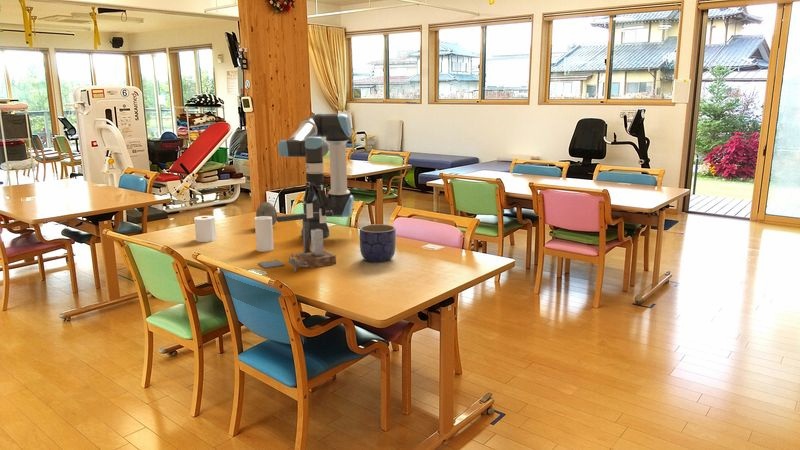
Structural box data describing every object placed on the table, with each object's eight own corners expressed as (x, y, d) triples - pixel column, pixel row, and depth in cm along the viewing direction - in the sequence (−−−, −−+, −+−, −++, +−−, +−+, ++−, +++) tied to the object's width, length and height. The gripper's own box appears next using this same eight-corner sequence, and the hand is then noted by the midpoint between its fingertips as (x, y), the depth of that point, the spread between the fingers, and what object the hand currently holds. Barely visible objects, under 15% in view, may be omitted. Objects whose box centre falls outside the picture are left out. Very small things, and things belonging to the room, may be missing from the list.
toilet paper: (191, 241, 294) (189, 218, 291) (205, 236, 303) (203, 214, 301) (207, 243, 290) (205, 220, 288) (220, 238, 300) (218, 216, 297)
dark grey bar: (275, 223, 256) (275, 215, 255) (331, 217, 270) (331, 209, 269) (277, 224, 253) (277, 216, 253) (334, 218, 267) (334, 210, 266)
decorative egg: (275, 229, 319) (273, 203, 316) (254, 229, 319) (252, 203, 316) (279, 225, 330) (278, 200, 327) (259, 225, 331) (258, 200, 327)
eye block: (324, 257, 264) (323, 250, 263) (335, 263, 254) (335, 255, 253) (300, 261, 257) (299, 253, 256) (311, 267, 247) (310, 260, 247)
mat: (277, 260, 258) (277, 259, 258) (284, 265, 251) (284, 264, 250) (258, 264, 253) (257, 262, 253) (265, 268, 246) (265, 267, 246)
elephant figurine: (312, 270, 244) (294, 267, 238) (304, 278, 247) (286, 275, 241) (307, 252, 249) (290, 248, 244) (300, 260, 252) (283, 256, 247)
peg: (320, 260, 258) (319, 228, 255) (323, 262, 255) (322, 230, 252) (312, 262, 256) (310, 229, 253) (315, 264, 253) (314, 231, 249)
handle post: (311, 253, 271) (309, 218, 267) (318, 257, 264) (317, 221, 260) (295, 255, 266) (294, 220, 263) (302, 259, 260) (301, 223, 256)
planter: (368, 266, 249) (368, 233, 246) (354, 257, 263) (353, 226, 260) (402, 261, 256) (402, 229, 253) (386, 253, 271) (385, 222, 267)
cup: (269, 252, 273) (267, 219, 269) (253, 251, 275) (251, 219, 271) (276, 247, 281) (274, 216, 277) (260, 246, 282) (259, 215, 279)
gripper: (295, 170, 255) (297, 216, 259) (319, 176, 234) (320, 226, 239) (310, 169, 259) (312, 215, 263) (335, 174, 238) (336, 224, 243)
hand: (316, 220), depth 251 cm, fingers open, 13 cm apart
